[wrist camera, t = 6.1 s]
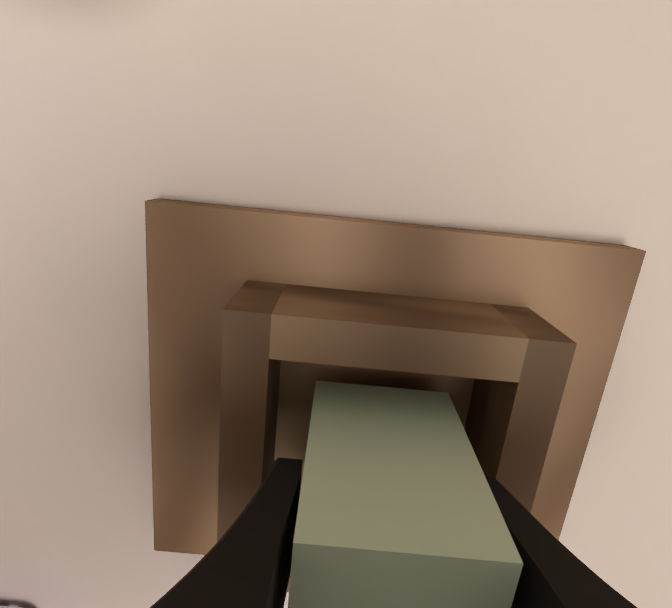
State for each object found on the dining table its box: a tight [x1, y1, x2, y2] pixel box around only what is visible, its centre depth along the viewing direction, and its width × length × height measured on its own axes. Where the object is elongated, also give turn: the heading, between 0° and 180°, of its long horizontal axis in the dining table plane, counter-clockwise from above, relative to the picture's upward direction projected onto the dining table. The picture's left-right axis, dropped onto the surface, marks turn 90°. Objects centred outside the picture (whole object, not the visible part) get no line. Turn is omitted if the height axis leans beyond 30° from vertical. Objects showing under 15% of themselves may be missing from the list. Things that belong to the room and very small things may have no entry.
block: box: [288, 381, 523, 608], centre depth 11 cm, size 4×4×6 cm
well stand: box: [145, 199, 646, 592], centre depth 14 cm, size 15×13×4 cm
